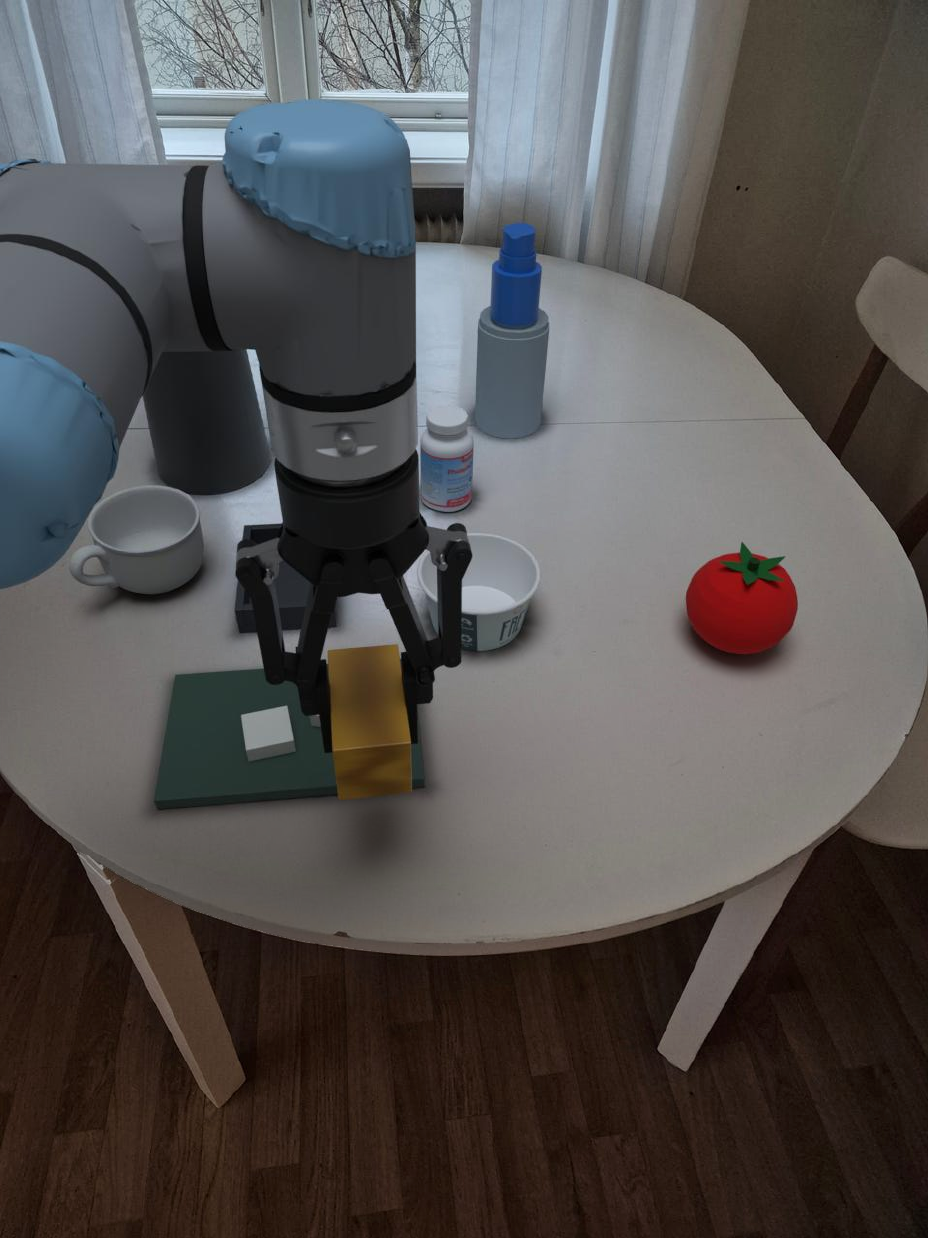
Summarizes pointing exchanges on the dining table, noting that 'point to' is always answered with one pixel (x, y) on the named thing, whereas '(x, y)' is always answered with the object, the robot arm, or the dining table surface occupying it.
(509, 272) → the spray bottle
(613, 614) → the dining table surface
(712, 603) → the tomato
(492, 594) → the food container
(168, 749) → the chalkboard
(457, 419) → the pill bottle
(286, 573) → the tray
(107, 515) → the teacup
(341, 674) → the yellow rectangular block
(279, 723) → the grey square block
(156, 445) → the vase
